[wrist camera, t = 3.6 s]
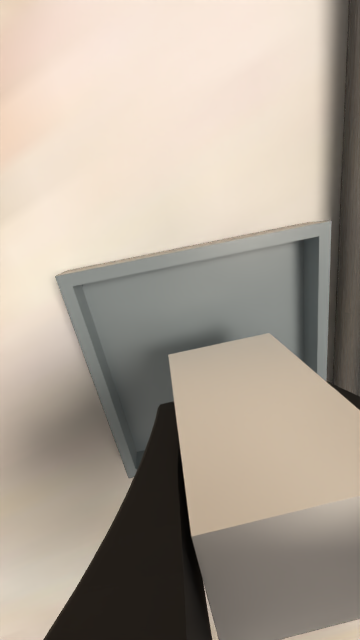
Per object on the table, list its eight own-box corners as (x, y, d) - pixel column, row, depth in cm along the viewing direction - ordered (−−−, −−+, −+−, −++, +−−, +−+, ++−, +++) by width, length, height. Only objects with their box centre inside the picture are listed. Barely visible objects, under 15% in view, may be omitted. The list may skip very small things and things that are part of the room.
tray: (308, 412, 15) (324, 431, 14) (130, 454, 15) (128, 478, 13) (308, 222, 11) (331, 220, 10) (67, 270, 11) (54, 276, 9)
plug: (274, 414, 11) (404, 607, 5) (186, 434, 11) (223, 655, 5) (269, 333, 10) (436, 476, 4) (168, 354, 9) (191, 536, 4)
